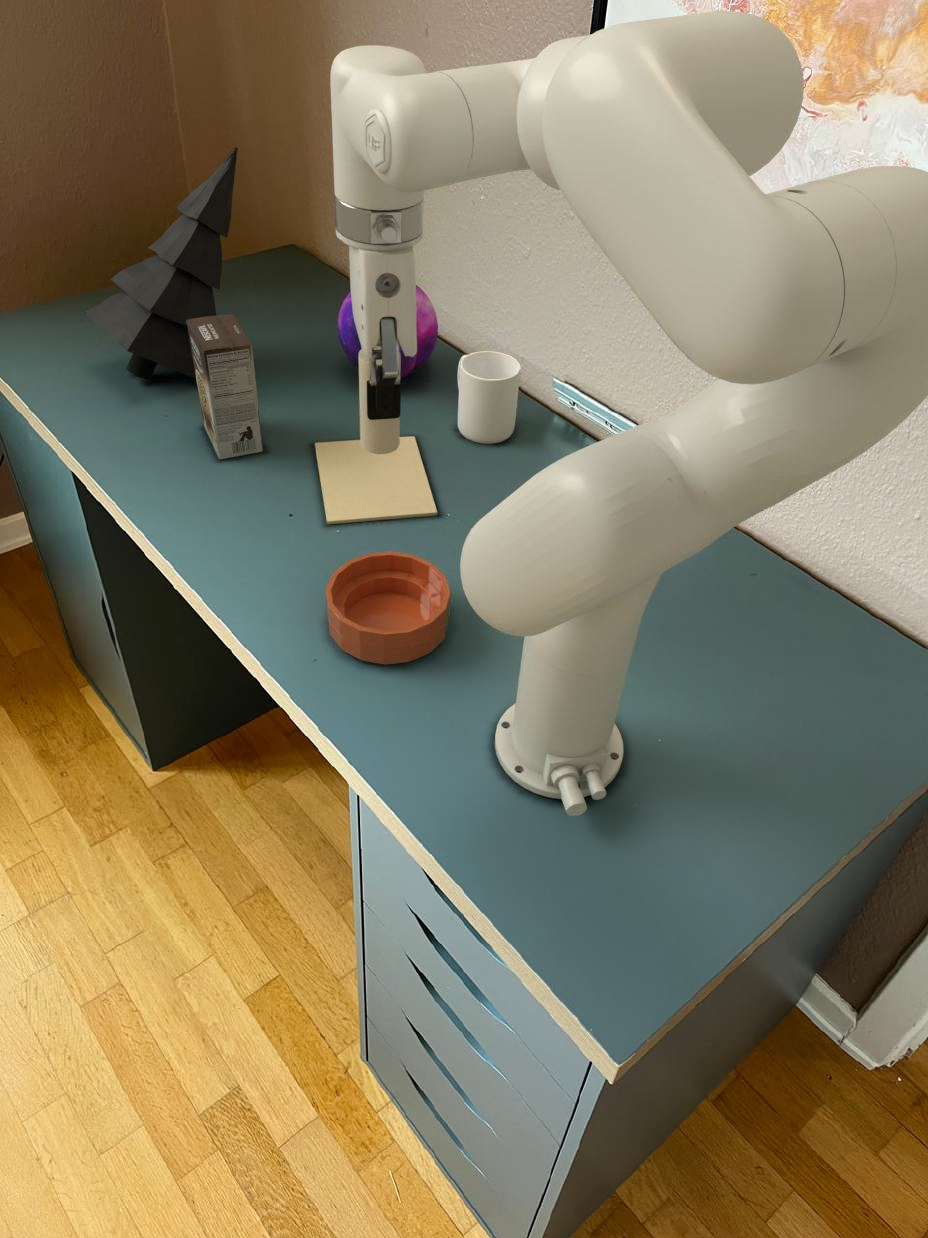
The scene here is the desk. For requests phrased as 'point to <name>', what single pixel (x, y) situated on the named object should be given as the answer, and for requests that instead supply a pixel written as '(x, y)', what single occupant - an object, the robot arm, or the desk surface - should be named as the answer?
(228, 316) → the coffee box
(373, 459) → the mat
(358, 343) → the decorative orb
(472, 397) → the cup
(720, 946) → the desk surface
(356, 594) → the bowl
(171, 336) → the decorative tree
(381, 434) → the cream cylinder
